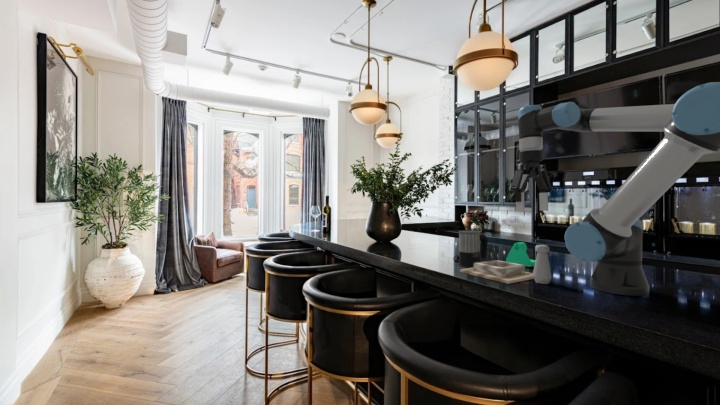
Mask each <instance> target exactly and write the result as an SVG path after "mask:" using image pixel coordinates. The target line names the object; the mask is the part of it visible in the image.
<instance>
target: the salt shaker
mask: <svg viewBox="0 0 720 405" xmlns="http://www.w3.org/2000/svg"><path fill="white" fill-rule="evenodd" d="M534 250H535V252H536V258H535V260H536V262H535V266H533V271H532V273H533V278H534V279H533V280H534V282H535V283H536V284H539V283H540V285H548V284H550V282H551V280H552V272H551V266H550V261H549V260H550V259H549V255H548V253H550V247H549V245H547V244H536V245H535V247H534Z"/></svg>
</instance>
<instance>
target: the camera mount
mask: <svg viewBox="0 0 720 405" xmlns="http://www.w3.org/2000/svg"><path fill="white" fill-rule="evenodd" d="M527 250H528V246H527V244H526V243H525V242H523V241H521V242H514V243H513V245H512V247H511V248H510V251H509V252H508V254H507V255H506V258H505V262H510V263H516V264H521V265H525V268H528V267H529V268H530V267H534V266H535V262H536V259H530V257H529V255H528V252H527Z"/></svg>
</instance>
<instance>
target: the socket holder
mask: <svg viewBox="0 0 720 405" xmlns="http://www.w3.org/2000/svg"><path fill="white" fill-rule="evenodd" d="M459 272H460V273H463V274H466V275H467V274H468V275H470V276H475V277H480V278H483V279H488V280H491V281H496V282H499V283H504V284H509V285H510V284H515V283H518V282H519V283H520V282H524V281H529V280H534V278H533V272H530V271H526V267H525V265H521V264H516V263H510V262H506V260H504V261H503V260H499V259H493V260H487V261H485V260H484V261H480V262H478V263H474V267H466V268H462V269H459Z"/></svg>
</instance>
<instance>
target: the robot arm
mask: <svg viewBox="0 0 720 405" xmlns="http://www.w3.org/2000/svg"><path fill="white" fill-rule="evenodd" d="M517 122H518V123H517V124H518V125H517V126H518V148H519V149H518V150H519V153H518V156H519V157H518V159H519V163H516V165H515V173H514V175H513V178H512V182H511V185H510V191H511V192H512V193H513V194H515V196H514V197H515V198H514V199H515V212H516V213H517V212H519V213H521V212H522V213H524V212H525V210H526V208H525V192H523V191H524V189H525V187H526V185H527V183H528V182H529V179H530V178H531V179H533V180H534V182H535V183H536V185H537V187H538V189H539V191H540V192H539V193H538V195H539V196H538V198H539V199H538V200H539V211H540V212H544V211H545V212H546V211H547V212H549V193H551V192H552V188H553V187H552V184H551V181H550V179H549V175H548V173H547V166H546V164H540V163H541V162H542V161H544V151H543V149H544V145H543V142H544V141H543V139H544V138H543V132H547V131H551V130H562V131H563V130H565V131H573V132H578V133H584V134H585V133H593V132H638V133H639V132H647V133H648V132H656V133H657V132H658V133H659V132H661V133H663V132H664V137H663V139H662V140H660V141H659V143H658V144H657V145H656V146H655V147H654V148H653V149H652V151H651V152H650V153H649V154H648V155H647V156H646V157H645V159H644V160H643V161H642V162H641V163H640V164H639V165H638V166H637V167H636V169H635V170H634V171H633V172H632V173H631V174H630V175H629V176H628V177H627V179H626V180H625V181H624V182H623V183H622V184H621V186H619V187H618V188H617V190H615V192H614V193H613V194H612V195H611V196H610V197H609V199H608V200H607V201H606V202H605V203H604V204H603V205H602V206H601V207H600V208H592V209H591V210H590V212H588V213H587V214H586V216H585V217H584V218H583V219H582V220H581V221H575V222H574V223H572V224H570V225H569V226H568V227H567V229H566V231H565V233H564V241H565V242H564V243H565V247H566V249H567V250H568V252H569V254H571V255H572V256H573V257H574V258H576V259H577V260H579V261H583V262H592V263H593V262H596V264H595V266H594V269H593V271H592V274H591V277H590V278H589V279H590V280H589V287H590V288H592V289H593V290H596V291H599V292H603V293H607V294H612V295H613V294H614V295H621V296H622V295H623V296H632V297H633V296H637V297H638V296H640V297H641V296H648V295H649V294H650V284H649V282H648V280H647V277H646V274H645V271H644V269H643V236H644V235H643V233H644V228H643V222H642V221H641V220H640V218H641V217H642V216H644V214H645V213H647V211H648V210H650V208H651V207H652V206H654V204H656V203H657V201H658V200H659V199H660V198H661V197H662V196H663V195H664V194H665V193H666V192H667V191H669V189H670V188H671V187H672V186H673V185H674V184H675V183H676V182H678V180H680V179H681V178H682V176H683V175H684V174H685V173H687V172H688V170H689V169H690V168H691V167H692V166H694V164H695V163H697V161H698V160H700V158H701V157H702V156H704V155H709V154H714V153H717V152H718V151H719V150H720V81H715V82H714V81H713V82H707V83H703V84H699V85H696V86H695V87H693V88H691V89H689V90H687V91H686V92H685V93H683V94H682V95H681V96H680V97H679V98H678V99H677V101H676V102H675V103H672V104H671V103H670V104H669V103H668V104H654V105H652V104H651V105H637V106H635V105H634V106H617V107H616V106H615V107H600V108H599V107H598V108H580V106H579V105H577V104H576V102H574V101H568V102H567V101H566V102H560V103H558V104H556V105H552V106H548V107H545V108H542V106H541V105H539V104H531V105H526V106H522V107H520V108H519V110H518V118H517Z"/></svg>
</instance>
